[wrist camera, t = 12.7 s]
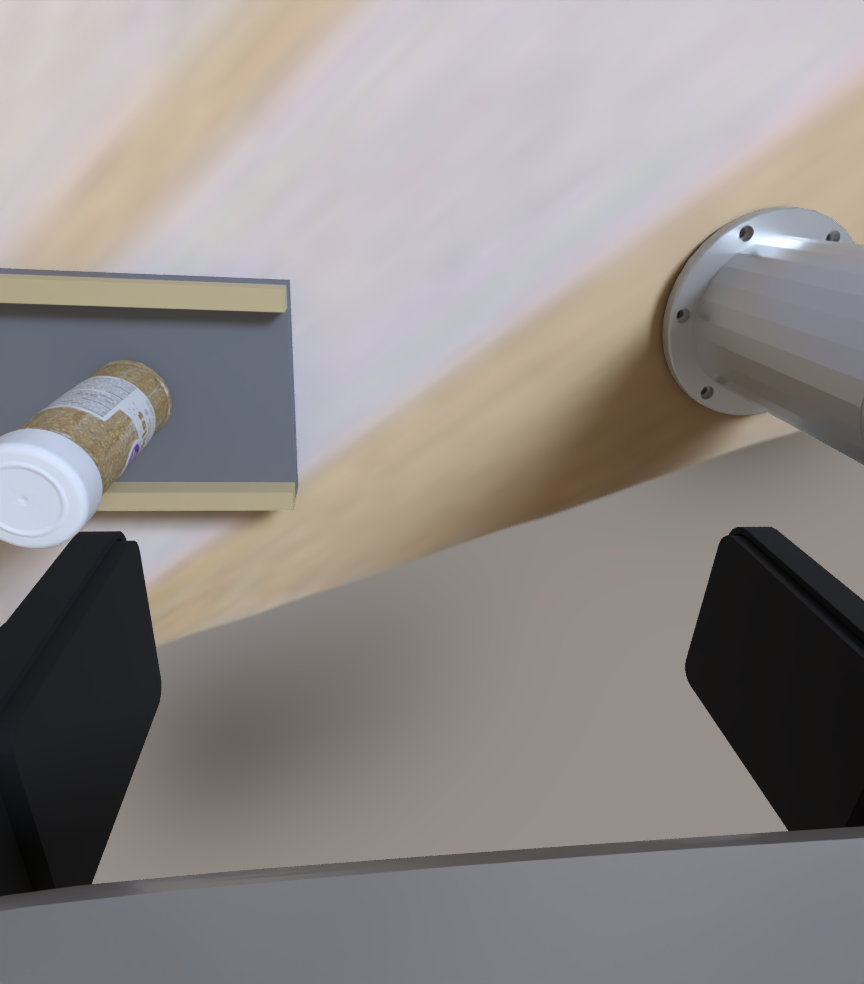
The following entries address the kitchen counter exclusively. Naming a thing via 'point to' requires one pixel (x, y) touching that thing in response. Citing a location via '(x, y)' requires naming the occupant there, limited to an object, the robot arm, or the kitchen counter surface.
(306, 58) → the kitchen counter surface
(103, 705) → the robot arm
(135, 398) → the sprinkles bottle
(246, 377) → the tray
